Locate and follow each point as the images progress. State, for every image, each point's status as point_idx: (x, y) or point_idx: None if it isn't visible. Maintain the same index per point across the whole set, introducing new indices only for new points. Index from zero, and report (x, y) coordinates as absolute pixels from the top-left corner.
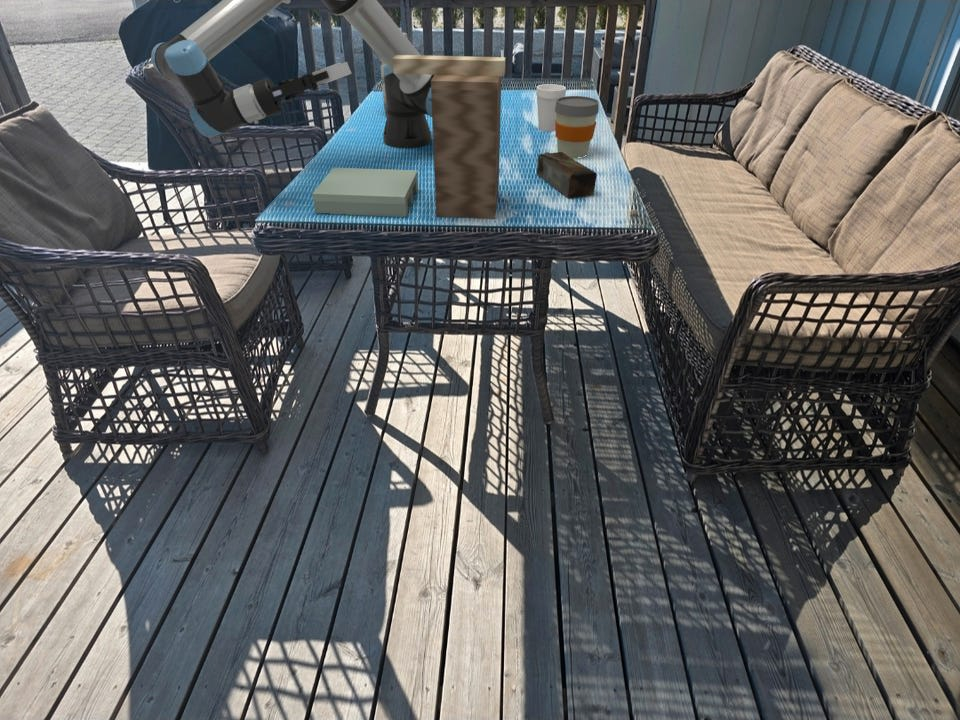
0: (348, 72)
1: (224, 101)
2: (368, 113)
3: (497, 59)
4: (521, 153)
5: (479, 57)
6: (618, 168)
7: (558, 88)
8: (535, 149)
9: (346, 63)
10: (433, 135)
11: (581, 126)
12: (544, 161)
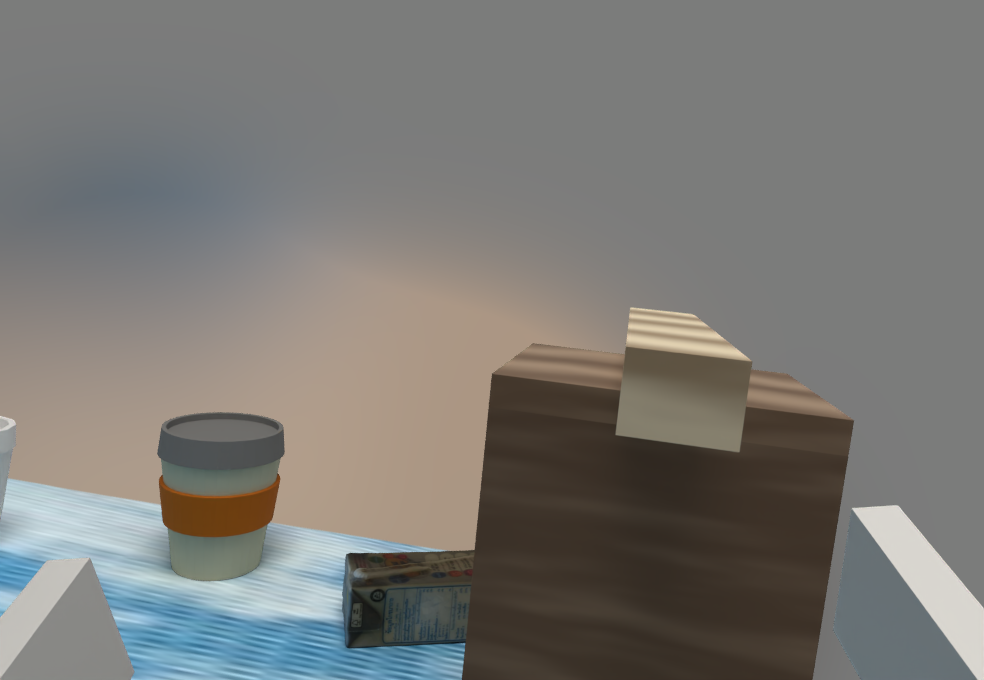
0: (114, 676)
1: None
2: None
3: (672, 313)
4: (129, 635)
5: (645, 314)
6: (363, 537)
7: None
8: (119, 604)
9: (91, 579)
10: (814, 659)
11: (275, 480)
12: (395, 593)
